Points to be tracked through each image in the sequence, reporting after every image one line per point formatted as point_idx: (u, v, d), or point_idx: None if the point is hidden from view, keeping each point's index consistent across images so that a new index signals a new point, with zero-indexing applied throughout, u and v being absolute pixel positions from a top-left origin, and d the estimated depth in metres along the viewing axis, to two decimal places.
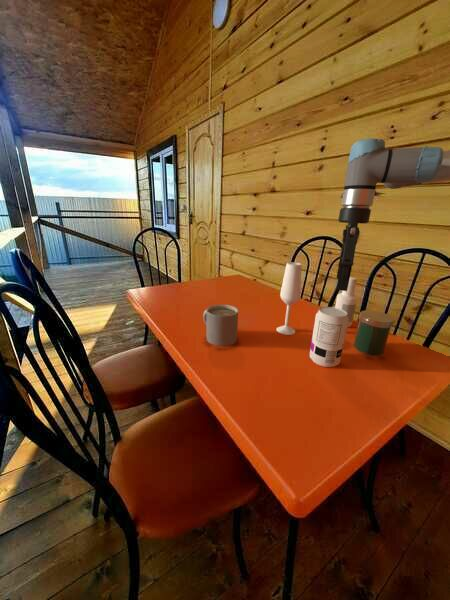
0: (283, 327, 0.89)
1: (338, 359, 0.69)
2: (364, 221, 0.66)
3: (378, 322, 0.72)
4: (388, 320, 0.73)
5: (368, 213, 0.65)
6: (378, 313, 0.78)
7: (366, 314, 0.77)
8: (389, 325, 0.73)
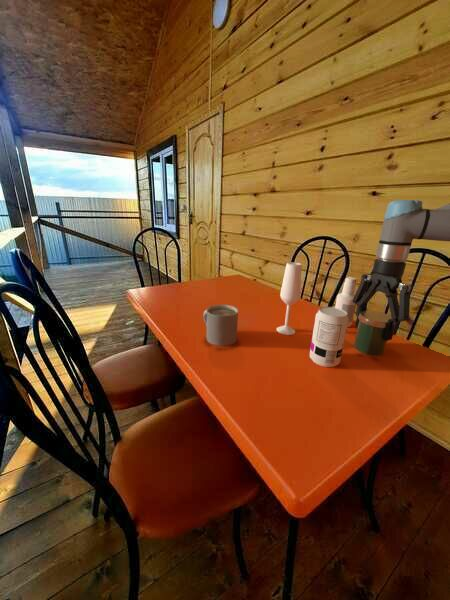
0: (283, 327, 0.89)
1: (338, 359, 0.69)
2: None
3: (378, 322, 0.72)
4: None
5: (375, 264, 0.72)
6: (378, 313, 0.78)
7: (366, 314, 0.77)
8: None
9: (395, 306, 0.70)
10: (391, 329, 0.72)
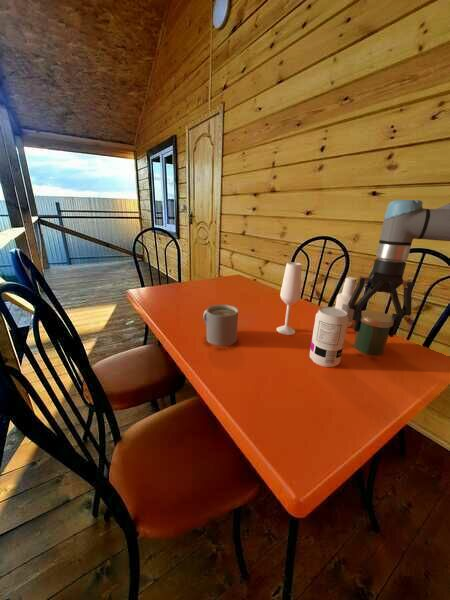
0: (283, 327, 0.89)
1: (338, 359, 0.69)
2: (379, 272, 0.70)
3: (391, 322, 0.72)
4: (389, 317, 0.75)
5: (384, 266, 0.69)
6: (370, 312, 0.79)
7: (371, 317, 0.75)
8: None
9: None
10: (396, 325, 0.75)
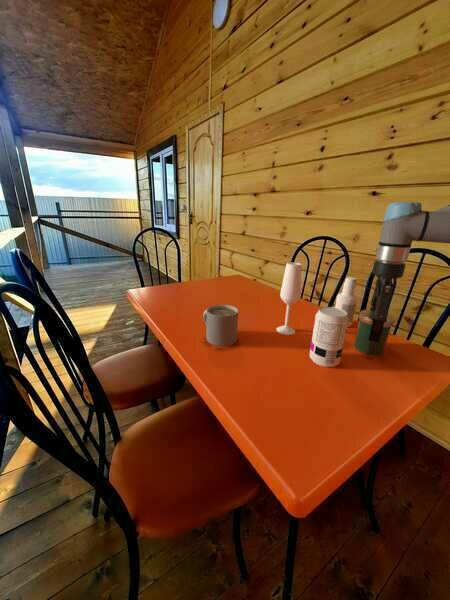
0: (283, 327, 0.89)
1: (338, 359, 0.69)
2: (399, 276, 0.69)
3: None
4: (374, 311, 0.79)
5: (403, 269, 0.68)
6: (367, 315, 0.76)
7: None
8: None
9: None
10: None
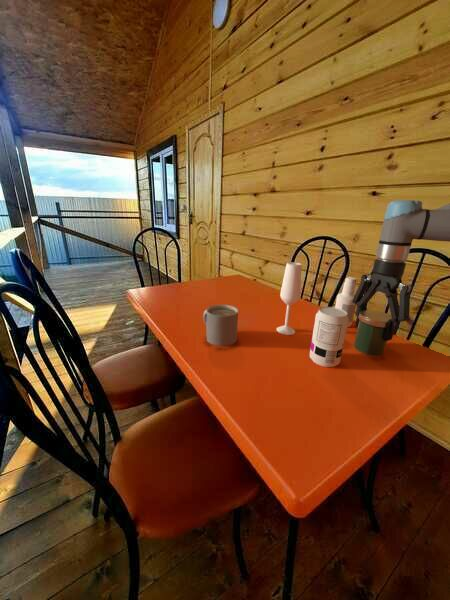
0: (283, 327, 0.89)
1: (338, 359, 0.69)
2: None
3: None
4: (374, 311, 0.79)
5: (375, 264, 0.72)
6: (367, 315, 0.76)
7: (385, 318, 0.74)
8: None
9: (396, 306, 0.70)
10: (391, 329, 0.72)
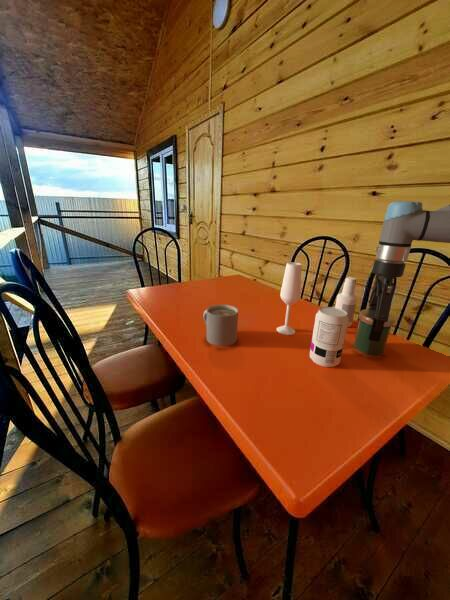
0: (283, 327, 0.89)
1: (338, 359, 0.69)
2: (399, 275, 0.69)
3: None
4: (368, 316, 0.74)
5: (403, 268, 0.68)
6: None
7: (374, 311, 0.79)
8: (364, 320, 0.75)
9: None
10: None
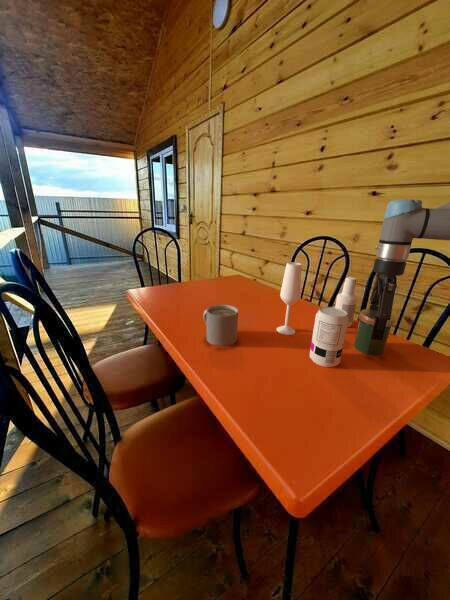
0: (283, 327, 0.89)
1: (338, 359, 0.69)
2: (400, 274, 0.68)
3: (359, 313, 0.78)
4: (368, 316, 0.74)
5: (404, 266, 0.68)
6: None
7: (374, 311, 0.79)
8: (364, 319, 0.75)
9: None
10: None
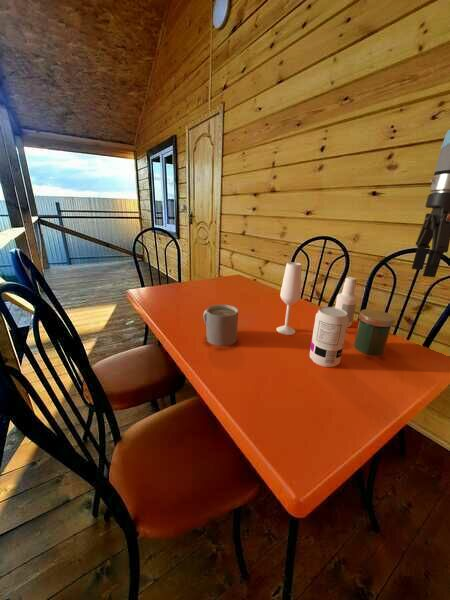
0: (283, 327, 0.89)
1: (338, 359, 0.69)
2: None
3: (359, 313, 0.78)
4: (368, 316, 0.74)
5: None
6: (387, 317, 0.74)
7: (374, 311, 0.79)
8: (364, 319, 0.75)
9: None
10: None
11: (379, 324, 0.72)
